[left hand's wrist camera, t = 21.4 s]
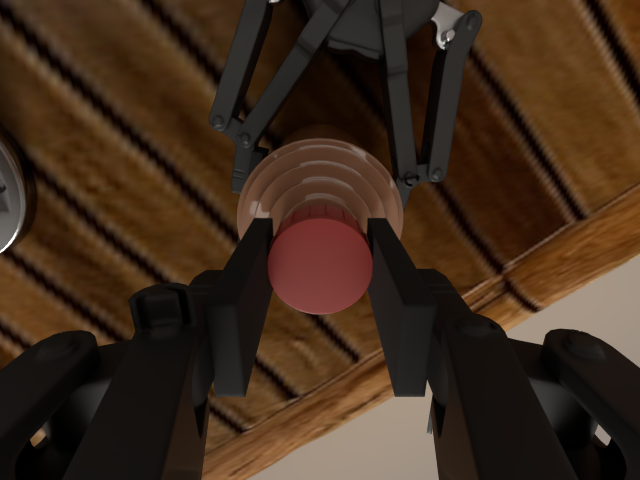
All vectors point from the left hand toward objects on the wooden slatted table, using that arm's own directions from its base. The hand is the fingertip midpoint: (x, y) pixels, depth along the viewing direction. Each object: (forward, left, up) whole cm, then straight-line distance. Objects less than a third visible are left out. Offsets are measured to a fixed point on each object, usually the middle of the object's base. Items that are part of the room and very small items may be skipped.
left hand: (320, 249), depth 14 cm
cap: (0, 0, +2) cm, 2 cm away
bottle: (0, 0, -17) cm, 17 cm away
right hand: (+3, -4, -11) cm, 12 cm away
